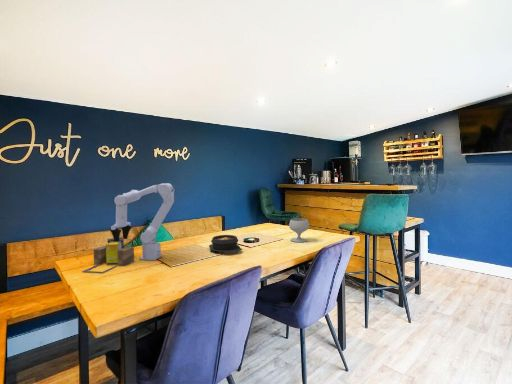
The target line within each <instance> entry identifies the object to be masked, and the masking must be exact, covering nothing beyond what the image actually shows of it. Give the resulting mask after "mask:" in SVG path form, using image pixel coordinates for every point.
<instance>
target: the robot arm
mask: <svg viewBox="0 0 512 384" xmlns="http://www.w3.org/2000/svg"><path fill="white" fill-rule="evenodd" d="M152 193H156V194H159V195H160V197H161V198H162V200H163V202H162V203H161V206H160V207H159V209H158V210H157V213H156V214H155V216H154V217H153V219H152V221H151V222H150V224H149V226H147V228H146V229H145V230H144V232H142V233H141V234H140V238H139V239H140V241H141V245H142V246H141V247H142V248H141V249H142V257H140V258H139V260H140V261H141V260H144V261H148V260H149V261H150V260H151V261H156V260H158V259H159V258H161V257H162V245H161V243H160V242H157V241H156V238H157V236H158V231H159V228H160V227H161V225H162V223H163V222H164V220H165V218H166V216H167V215H168V213H169V212H170V209H171V208H172V206H173V204H174V203H175V188H174V187H173V184H171V183H168V182H165V183H160V184H153V185H151V186H148V187H146V188H144V189H141V190H138V189H131V190H130V191H128V192H124V193H122V194H118V195H117V196H115V197H114V201H113V202H114V204H115V223H113V225H111V226H110V230H109V231H110V233H111V235H112V237H113V238H114V241H115V242H119V238H120V237H121V232H122V238H123V240H127V239H128V238H129V234H130V232H131V230H132V225H131V222H130V221H128V204H131V203H134V202H136V201H138V200H141V197H143V196H146V195H149V194H152Z"/></svg>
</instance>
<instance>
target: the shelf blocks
mask: <svg viewBox="0 0 512 384" xmlns="http://www.w3.org/2000/svg"><path fill="white" fill-rule="evenodd" d="M133 262H135V247H134V246H124V248H122V249H120V250H118V264H117V265H118V266H117V267H119V266H121V267H126V266H127V265H129V264H132V263H133ZM105 263H106V264H107V261H106V245H103V246H102V245H101V246H99V247H96V248H93V265H95V266H96V265H98V264H100V265H99V266H101V265H103V264H105Z"/></svg>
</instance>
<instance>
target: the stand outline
mask: <svg viewBox="0 0 512 384" xmlns="http://www.w3.org/2000/svg"><path fill="white" fill-rule="evenodd" d="M100 266H101V265H100V264H98V265H96V264H95V265H93V266H92V267H89V268H87V269H84V270H83V271H81V272H82V273H87V274H88V273H90V274H105V273H107V272H109V271H111V270H113V269H115V268H117V267H119V266H118V264H115V265H114V266H112V267H110V268H107V269H106V270H103V271H95V270H93V271H92V269H94V268H97V267H100Z"/></svg>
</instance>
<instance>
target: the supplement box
mask: <svg viewBox="0 0 512 384" xmlns="http://www.w3.org/2000/svg"><path fill="white" fill-rule="evenodd" d="M105 246H106V261H107V262H106V265H107V266H108V265H110V266H111V265H118V250H120V249H122V248H121V242H109V243H108V242H107V243H106V244H105Z"/></svg>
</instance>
